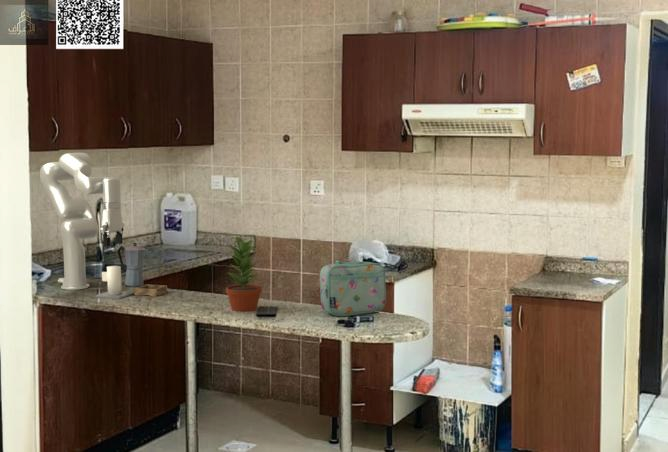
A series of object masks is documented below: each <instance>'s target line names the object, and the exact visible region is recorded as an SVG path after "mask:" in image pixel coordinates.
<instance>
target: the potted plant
mask: <svg viewBox="0 0 668 452" xmlns="http://www.w3.org/2000/svg"><path fill="white" fill-rule="evenodd" d="M235 240H236V244H237V246H238V248H236V247H235V246H232V245H228V247H229V248H230V249H231V250H232V251H233V253H231V254H230V257H231V258H232V259H233V260H234V261H235V262H236V263H237V265H239V266H237V265H233V264H230V266H231V267H233V268H234V269H235V270H236V271H238V272H239V273H240V274H241V275H239V274H237V273H233V272H227V274H228V275H230V277H231V278H232V279H233V280H234V281H235V282H236V283H237V284H235V285H229V286H227V287H225V293H226V294H227V297H228V298H227V299H228V301H229V305H230V308H231V311H235V312H252V311H253V312H254V311H256V310H257V309H258V304H259V301H260V296H261V294H262V290H263V288H262V287H263V286H261V285H257V284H248V283H249V281H251V280H252V279H254V278H255V277H256V276H258V275H259V273H258V272H257V273H251V272H253V271H254V270H255V267H254V266H255V265H256V264H257V262H255V263H252V264H251V261H252V260H253V259H254V257H255V256H256V255H257V253H258V251H256V252H255V253H253V254H252V255H251V253H252V250H253V249H254V247H255V245H252V243H253V242H254V240H255V238H253V239H252V240H247V242H246V241H244V239H243V238H242V237H239V236H238V235H236V237H235ZM250 255H251V256H250Z"/></svg>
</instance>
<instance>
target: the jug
mask: <svg viewBox="0 0 668 452" xmlns="http://www.w3.org/2000/svg"><path fill="white" fill-rule="evenodd" d="M121 268H122V267H121V265H108V266H106V271H101V281H102V282H107V284H106V285H107V292H108V295H119V294H122V292H123V291H122V290H123V289H122V288H123V287H122V286H123V285H122V269H121Z"/></svg>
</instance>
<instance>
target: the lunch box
mask: <svg viewBox="0 0 668 452" xmlns="http://www.w3.org/2000/svg"><path fill="white" fill-rule="evenodd" d="M385 271H386V270H385V268H384V266H383V265H382V264H380V263H379V262H378V263H377V262H370V261H346V262H342V261H340V260H336V261H335V263H329V264H327V265H324V266H322V268H321V270H320V273H319V285H320V286H319V289H320V295H319V296H320V297H319V298H320V305H321V309H322V311H323V312H324V313H327V314H331V315H333V316H334V317H335V316H336V317H348V316H356V315H357V316H358V315H364V314H372V313H376V312H380V311H382V310H384V309H385V306H386V304H387V289H386V288H387V287H386V273H385Z"/></svg>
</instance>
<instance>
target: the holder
mask: <svg viewBox="0 0 668 452" xmlns="http://www.w3.org/2000/svg"><path fill="white" fill-rule="evenodd" d="M166 292H167V293H168V285H159V284H144V285H143V286H137V287H134V296H140V295H150V296H149V297H158V296H157V295H159V296H161V295H164V294H167V293H166ZM163 293H164V294H163ZM160 294H161V295H160Z"/></svg>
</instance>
